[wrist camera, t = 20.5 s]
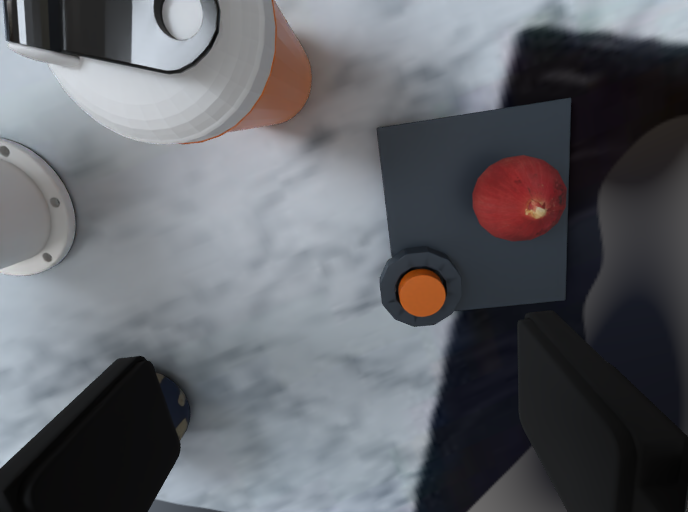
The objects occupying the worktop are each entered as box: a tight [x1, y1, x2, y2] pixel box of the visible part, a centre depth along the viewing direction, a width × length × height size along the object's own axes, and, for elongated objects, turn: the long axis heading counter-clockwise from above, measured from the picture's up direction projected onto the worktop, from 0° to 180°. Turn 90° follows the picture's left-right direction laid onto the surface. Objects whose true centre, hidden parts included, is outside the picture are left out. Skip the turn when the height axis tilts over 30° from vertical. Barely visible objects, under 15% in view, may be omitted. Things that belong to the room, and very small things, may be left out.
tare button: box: [398, 269, 446, 317], centre depth 31 cm, size 4×4×2 cm
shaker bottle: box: [3, 0, 312, 145], centre depth 21 cm, size 9×9×20 cm
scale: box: [377, 98, 571, 327], centre depth 31 cm, size 15×16×4 cm
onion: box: [472, 155, 567, 241], centre depth 26 cm, size 6×6×8 cm
